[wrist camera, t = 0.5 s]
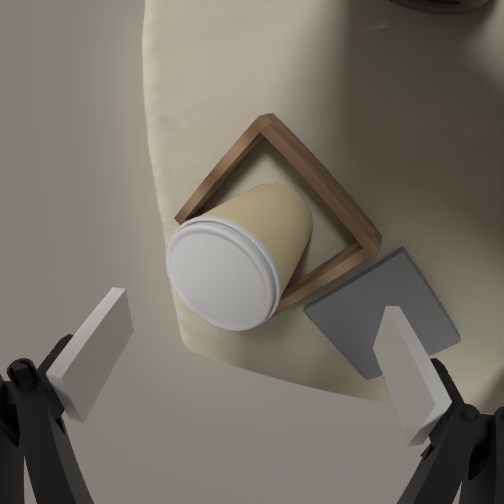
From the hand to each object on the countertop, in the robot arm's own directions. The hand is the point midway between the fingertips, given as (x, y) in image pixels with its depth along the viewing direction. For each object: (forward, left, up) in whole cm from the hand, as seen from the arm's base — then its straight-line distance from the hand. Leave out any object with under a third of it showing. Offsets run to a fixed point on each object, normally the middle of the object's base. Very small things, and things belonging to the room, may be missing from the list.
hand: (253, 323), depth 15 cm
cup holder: (+5, -2, -17) cm, 18 cm away
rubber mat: (+3, +14, -17) cm, 22 cm away
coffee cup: (+5, -2, -17) cm, 18 cm away
